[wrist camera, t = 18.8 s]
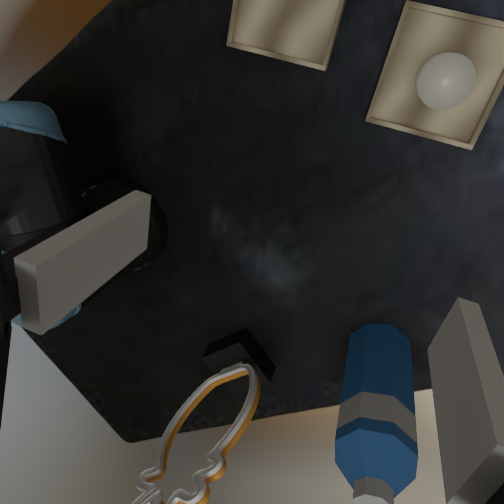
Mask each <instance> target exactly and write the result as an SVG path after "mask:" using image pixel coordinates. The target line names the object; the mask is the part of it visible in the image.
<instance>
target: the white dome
mask: <svg viewBox="0 0 504 504" xmlns="http://www.w3.org/2000/svg"><path fill="white" fill-rule="evenodd" d="M414 83H415V89H416V91H417V93H418V95H419V97H420V98H421V100H422V101H423V103H424V104H425V105H427V106H428V107H430V108H432V109H435V110H448V109H452V108H454V107H457V106H458V105H460V104H461V103H463V102H464V101H465V100H466V99H467V98H468V97H469V96H470V94H471V93H472V91H473V89H474V86H475V83H476V70H475V67H474V65H473V63H472V62H471V60H470V59H469V58H467V57H466V56H464V55H462V54H459V53H451V52H440V53H436V54H434V55H432V56H430V57H428V58H427V59H426V60H424V61H423V62H422V64H421V65H420V66H419V68H418V70H417V72H416V75H415V82H414Z"/></svg>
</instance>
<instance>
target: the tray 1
mask: <svg viewBox="0 0 504 504" xmlns="http://www.w3.org/2000/svg"><path fill="white" fill-rule="evenodd" d="M345 3H346V0H233V6H232V13H231V19H230V26H229V32H228V39H227V45H226V46H230V47H234V48H237V49H241V50H245V51H249V52H253V53H257V54H261V55H265V56H269V57H273V58H276V59H280V60H284V61H288V62H292V63H296V64H300V65H304V66H308V67H312V68H315V69H319V70H323V71H326V70H327V68H328V65H329V61H330V57H331V54H332V50H333V47H334V43H335V39H336V36H337V32H338V28H339V25H340V21H341V18H342V14H343V10H344V7H345Z"/></svg>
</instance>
